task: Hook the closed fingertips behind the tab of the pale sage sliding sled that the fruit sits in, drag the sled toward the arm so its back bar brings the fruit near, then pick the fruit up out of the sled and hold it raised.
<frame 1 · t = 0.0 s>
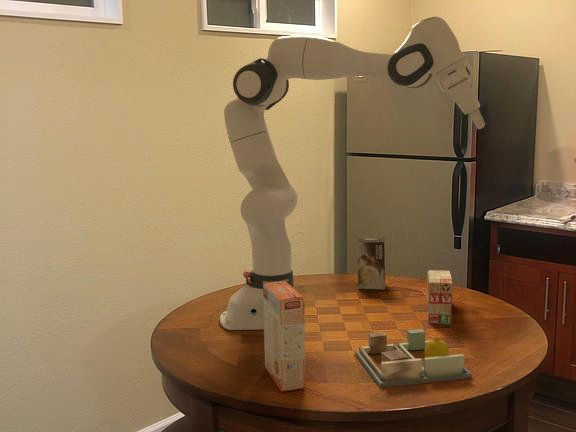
hand: (482, 127, 156), 54 cm above the table, tool tilted 30°, fingers open, 8 cm apart
stack of blocks: (438, 312, 186), on the table
coffee box: (371, 287, 212), on the table
walnut cube: (394, 373, 145), resting in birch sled
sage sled: (428, 351, 150), point 2 cm above the table, slide at 0.0 cm
fruit: (436, 370, 146), resting in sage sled
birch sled: (388, 355, 148), point 2 cm above the table, slide at 0.0 cm
lane guides: (410, 365, 149), on the table
cracker box: (284, 379, 143), on the table
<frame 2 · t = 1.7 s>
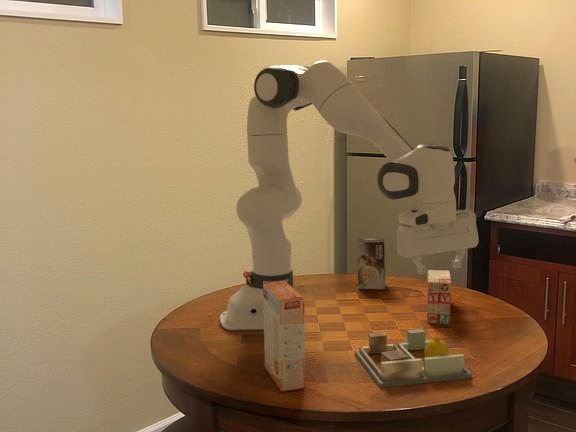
hand: (439, 270, 150), 21 cm above the table, tool pointing down, fingers open, 8 cm apart
nothing on the table moved.
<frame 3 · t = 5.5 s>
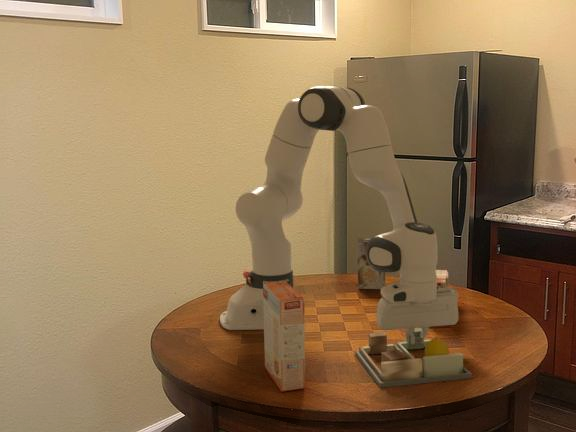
hand: (417, 343, 157), 2 cm above the table, tool pointing down, fingers closed, pressing on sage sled
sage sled: (427, 350, 151), point 2 cm above the table, slide at 0.6 cm, touching gripper
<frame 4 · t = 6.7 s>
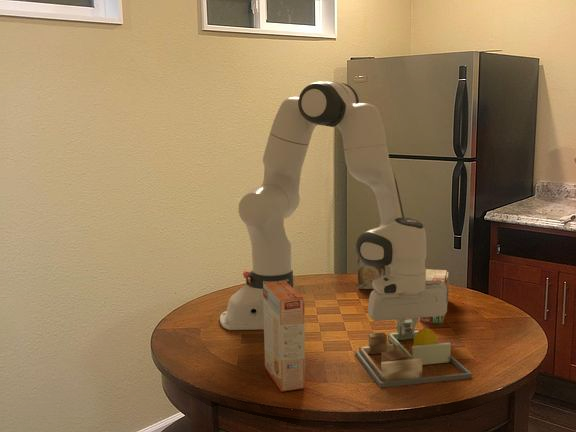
hand: (407, 333, 163), 2 cm above the table, tool pointing down, fingers closed, pressing on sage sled
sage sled: (417, 340, 157), point 2 cm above the table, slide at 7.1 cm, touching gripper
fruit: (425, 359, 152), resting in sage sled
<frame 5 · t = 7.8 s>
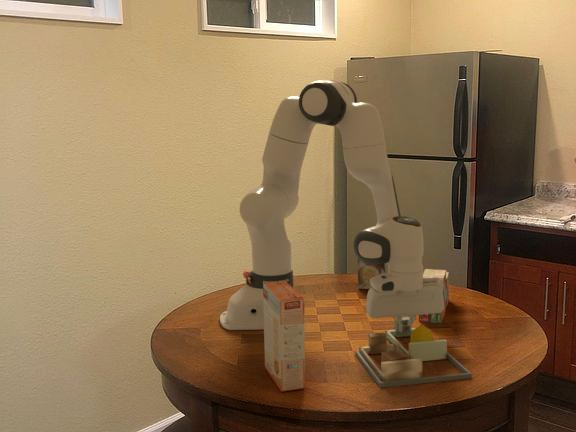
hand: (404, 331, 165), 2 cm above the table, tool pointing down, fingers closed, pressing on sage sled
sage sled: (414, 338, 159), point 2 cm above the table, slide at 9.2 cm, touching fruit, gripper
fruit: (421, 356, 154), resting in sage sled
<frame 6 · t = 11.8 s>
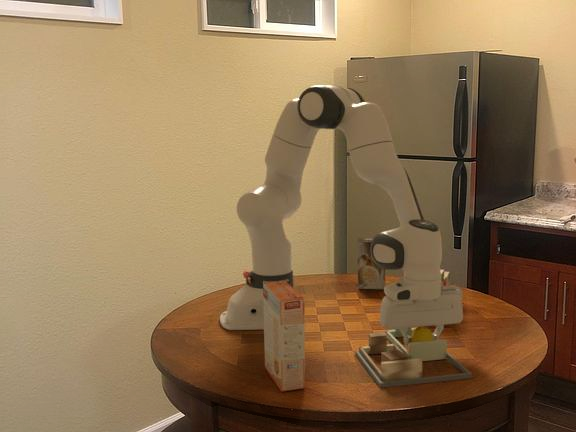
hand: (421, 342, 154), 3 cm above the table, tool pointing down, fingers closed on fruit, 6 cm apart
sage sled: (414, 338, 159), point 2 cm above the table, slide at 9.1 cm
fruit: (421, 356, 154), resting in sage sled, touching gripper
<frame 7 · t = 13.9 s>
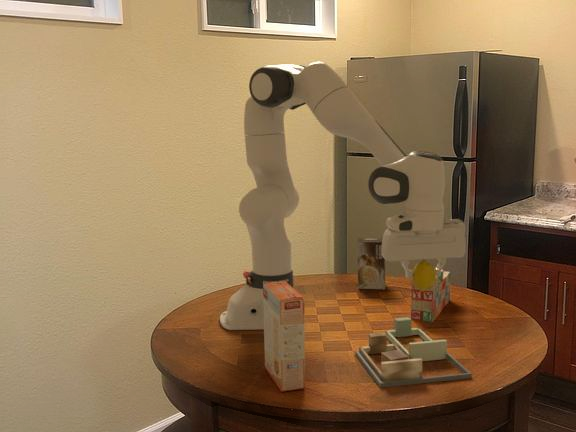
hand: (422, 276, 153), 19 cm above the table, tool pointing down, fingers closed on fruit, 6 cm apart
fruit: (423, 291, 153), point 16 cm above the table, touching gripper
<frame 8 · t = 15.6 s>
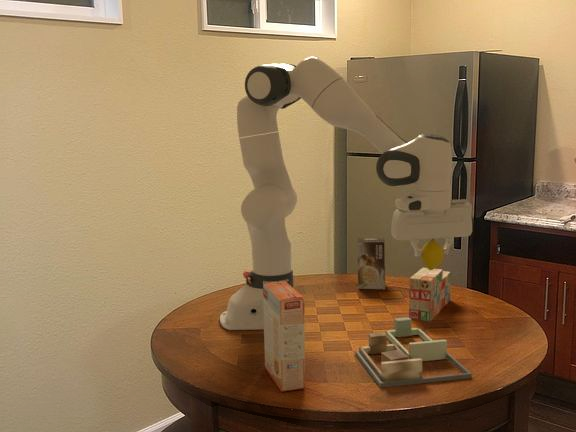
hand: (431, 255, 158), 23 cm above the table, tool pointing down, fingers closed on fruit, 5 cm apart
fruit: (431, 270, 158), point 19 cm above the table, touching gripper
at the end: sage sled slide at 9.1 cm; the gripper is holding fruit; fruit point 19.2 cm above the table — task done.
